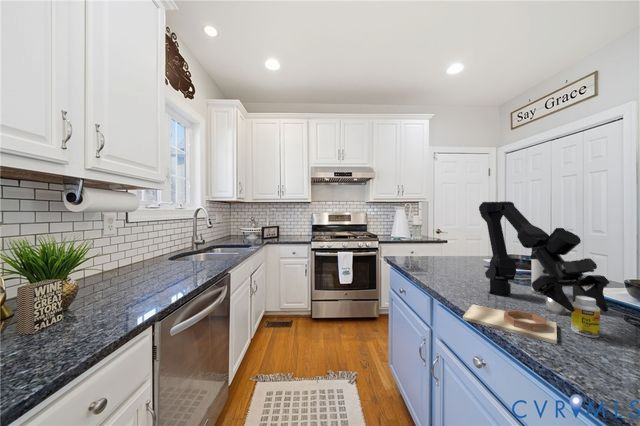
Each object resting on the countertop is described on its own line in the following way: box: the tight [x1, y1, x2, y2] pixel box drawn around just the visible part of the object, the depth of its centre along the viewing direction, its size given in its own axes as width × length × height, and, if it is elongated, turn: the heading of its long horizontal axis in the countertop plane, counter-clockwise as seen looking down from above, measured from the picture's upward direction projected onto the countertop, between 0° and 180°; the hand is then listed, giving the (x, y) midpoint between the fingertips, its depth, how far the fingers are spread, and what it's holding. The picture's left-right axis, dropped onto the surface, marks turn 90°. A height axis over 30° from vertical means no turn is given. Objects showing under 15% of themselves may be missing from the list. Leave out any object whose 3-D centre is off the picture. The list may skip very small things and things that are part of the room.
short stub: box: [545, 296, 567, 316], centre depth 86 cm, size 5×5×5 cm
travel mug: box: [531, 248, 548, 296], centre depth 104 cm, size 6×7×20 cm
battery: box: [572, 275, 586, 303], centre depth 87 cm, size 7×4×11 cm, turn 172°
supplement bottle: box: [570, 296, 601, 339], centre depth 70 cm, size 6×6×10 cm
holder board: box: [462, 303, 558, 345], centre depth 78 cm, size 22×14×3 cm, turn 47°
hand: (590, 311), depth 69 cm, fingers open, 9 cm apart
